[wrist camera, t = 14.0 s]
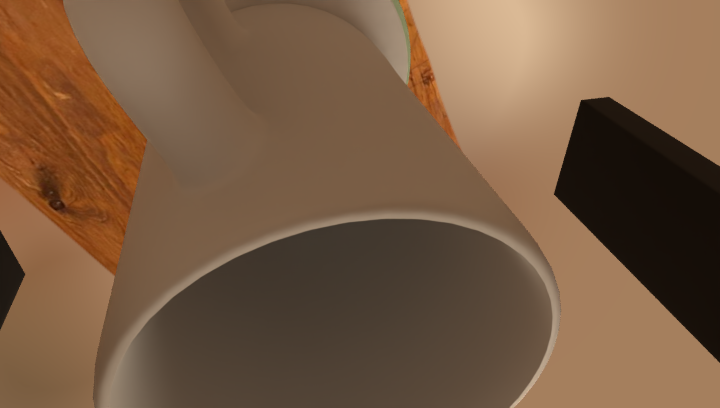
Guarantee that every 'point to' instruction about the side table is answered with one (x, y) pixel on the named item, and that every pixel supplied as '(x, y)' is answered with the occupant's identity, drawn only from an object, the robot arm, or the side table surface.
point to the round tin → (362, 24)
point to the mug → (302, 225)
